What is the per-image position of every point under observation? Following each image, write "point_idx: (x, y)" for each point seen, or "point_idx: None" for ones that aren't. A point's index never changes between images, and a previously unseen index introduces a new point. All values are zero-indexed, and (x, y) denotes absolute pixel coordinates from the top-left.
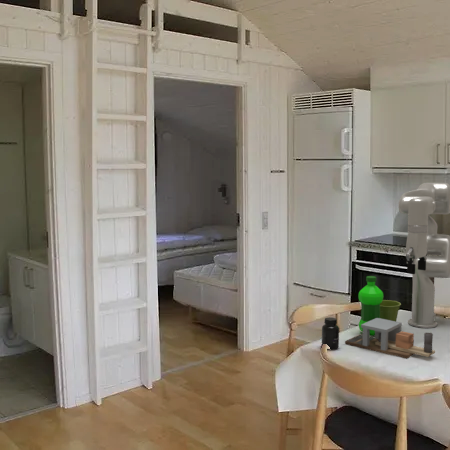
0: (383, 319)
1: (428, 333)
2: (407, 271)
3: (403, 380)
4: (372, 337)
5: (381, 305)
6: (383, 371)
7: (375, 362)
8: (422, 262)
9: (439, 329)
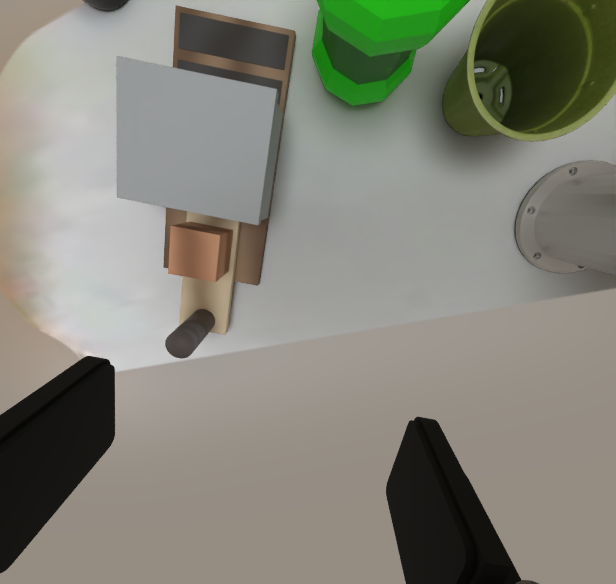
0: (263, 131)
1: (181, 345)
2: (72, 372)
3: (13, 297)
4: (278, 99)
5: (587, 8)
6: (30, 234)
7: (79, 191)
8: (427, 580)
9: (518, 286)
